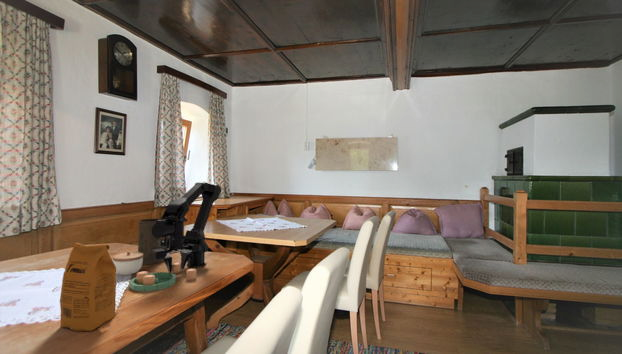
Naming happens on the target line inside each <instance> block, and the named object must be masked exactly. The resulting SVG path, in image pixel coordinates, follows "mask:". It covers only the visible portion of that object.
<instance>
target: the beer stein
mask: <svg viewBox="0 0 622 354" xmlns="http://www.w3.org/2000/svg"><path fill="white" fill-rule="evenodd" d="M156 220H161V218H144V219H140V220H138V236H137V237H138V239H137V240H138V242H137V245H138V247H137V252H140V253H143V264H142V265H153V264H154V265H155V264H158V263H161V262H164V260H163V259H154V258H151V257H150V252H151V251H152V250H155V249H160V248H161V249H163V247H158V240H159V239H164V240H167V236H166V237H162V238H155V237H154V236H153V235H152V227H153V226H154V224H156ZM163 250H168V249H163Z"/></svg>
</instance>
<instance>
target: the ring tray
mask: <svg viewBox="0 0 622 354" xmlns="http://www.w3.org/2000/svg"><path fill="white" fill-rule="evenodd" d="M148 275H155V284H153V285H137V276H136V277H133V278H131V279H130V282H129V289H130V290H132V291H134V292H141V293H142V292H144V293H146V292H155V291H159V290H164V289H167V288H170V287H171V286H173V285H175V284H176V282H177V274H176V273H169V271H168V272H164V271H160V272H148Z"/></svg>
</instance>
